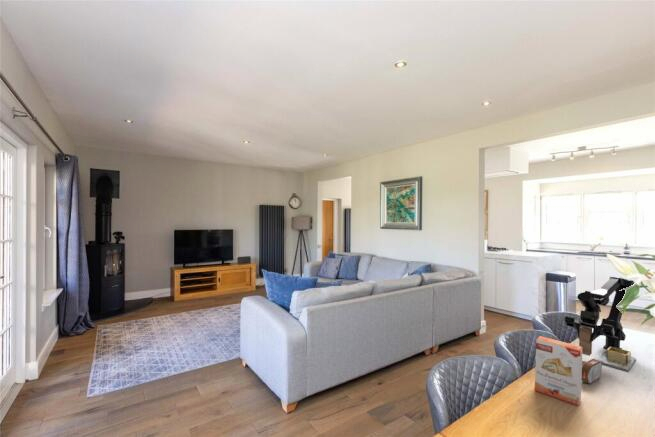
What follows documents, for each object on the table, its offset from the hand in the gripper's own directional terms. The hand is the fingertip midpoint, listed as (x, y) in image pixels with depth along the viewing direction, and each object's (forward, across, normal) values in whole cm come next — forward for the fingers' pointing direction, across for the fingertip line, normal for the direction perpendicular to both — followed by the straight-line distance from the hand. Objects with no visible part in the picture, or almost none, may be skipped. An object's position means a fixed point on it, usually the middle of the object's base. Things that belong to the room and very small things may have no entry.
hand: (584, 340), depth 151 cm
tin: (+22, +7, -7) cm, 24 cm away
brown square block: (+4, 0, +6) cm, 7 cm away
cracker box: (+40, +2, -26) cm, 48 cm away
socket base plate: (-2, +9, +17) cm, 19 cm away
